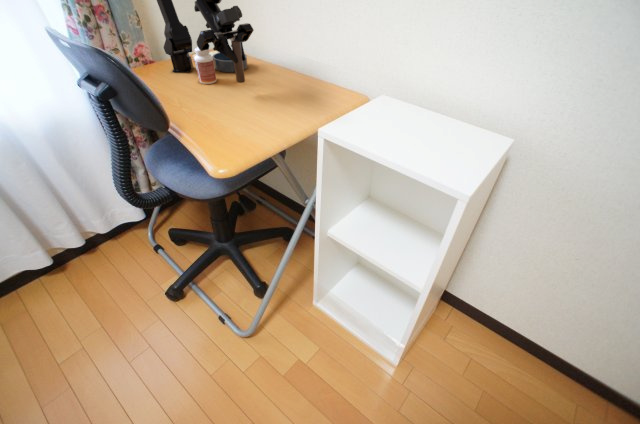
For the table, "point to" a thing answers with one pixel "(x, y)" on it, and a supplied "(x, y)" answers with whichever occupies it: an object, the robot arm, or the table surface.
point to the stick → (239, 65)
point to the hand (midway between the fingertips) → (240, 61)
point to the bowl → (225, 63)
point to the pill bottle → (205, 66)
